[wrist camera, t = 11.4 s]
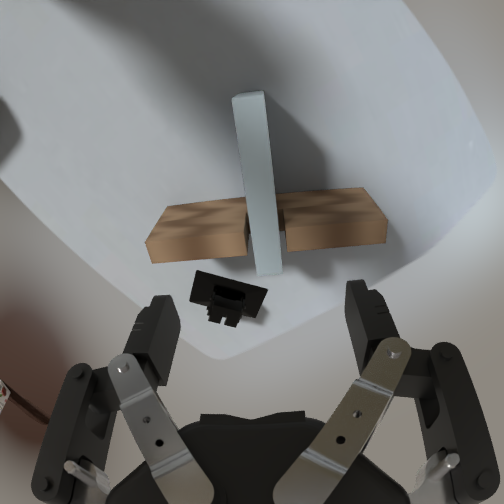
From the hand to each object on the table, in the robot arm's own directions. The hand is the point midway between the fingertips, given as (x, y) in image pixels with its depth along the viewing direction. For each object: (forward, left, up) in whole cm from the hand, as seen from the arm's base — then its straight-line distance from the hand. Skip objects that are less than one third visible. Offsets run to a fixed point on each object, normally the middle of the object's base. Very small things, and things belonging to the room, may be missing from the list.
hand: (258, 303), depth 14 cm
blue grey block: (0, 0, -21) cm, 21 cm away
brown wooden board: (+5, 0, -21) cm, 22 cm away
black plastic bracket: (+17, -6, -22) cm, 28 cm away
